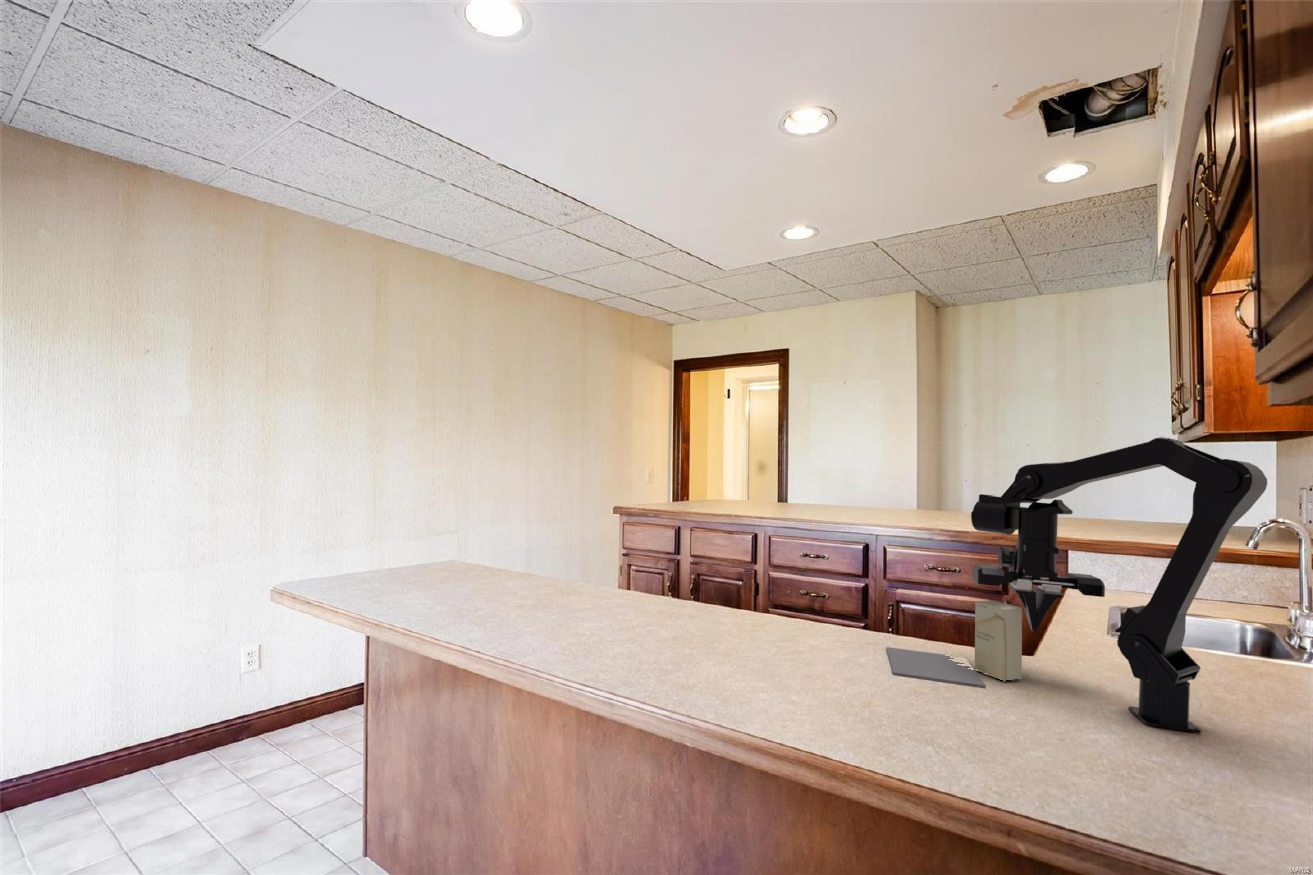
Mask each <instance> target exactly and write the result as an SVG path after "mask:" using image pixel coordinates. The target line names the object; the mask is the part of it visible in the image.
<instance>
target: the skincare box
mask: <svg viewBox="0 0 1313 875" xmlns="http://www.w3.org/2000/svg"><path fill="white" fill-rule="evenodd" d="M974 603H975V605H974V606H975V607H974V608H975V612H974V613H975V614H974V616H975V617H974V623H975V624H974V669H977V670H979V671H981V672H983V673H987V674H989V675H991V676H993V677H995V678H998V679H1001V680H1003V681H1002V682H1007V681H1006V680H1012V681H1016V680H1015V679H1020V680H1023V679H1022V675H1023V674H1022V670H1023V668H1022V665H1023V664H1022V660H1023V656H1022V654H1023V650H1022V649H1023V647H1022V646H1023V607H1021V606H1019V605H1018V606H1017V605H1013V604H1009V603H1006V602H1001V601H997V600H994V599H991V600H976V601H975V602H974ZM983 673H982V674H983ZM995 678H994V679H995ZM1013 679H1014V680H1013Z"/></svg>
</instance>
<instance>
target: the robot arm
mask: <svg viewBox="0 0 1313 875" xmlns="http://www.w3.org/2000/svg"><path fill="white" fill-rule="evenodd" d="M1160 467H1165V468H1167V469H1168V470H1171V471H1172V472H1174V473H1176V474H1177V475H1180V476H1182V477H1183V478H1185V479H1187V480H1190V481H1192V482H1195V484H1194V490H1193V493H1192V512H1191V513H1192V515H1191V518H1190V520H1189V522H1188V523H1187V526H1186V528H1185V530H1184V532H1183V534H1182V536H1181V538H1180V540H1179V542H1178V544H1177V545H1176V548H1175V550H1174V552H1173V553H1172V556H1171V558H1170V560H1169V562H1168V563H1167V566H1166V568H1165V569H1164V571H1163V574H1162V575H1161V578H1160V580H1159V582H1158V584H1157V586H1156V588H1155V590H1154V592H1153V594H1152V596H1151V598H1150V600H1149V601H1148V603H1147V604H1146V605H1144V604H1143V605H1138V606H1133V607H1127V608H1126V610H1125V613H1124V616H1123V620H1122V623H1121V624H1120V626H1119V627H1117V628H1116V629H1114V632H1115V633H1119V634H1118V636H1117V641H1116V643H1117V647H1118V649H1119V651H1120V653H1121V655H1122V656H1123V657H1124V658H1125V660H1127V662H1128V664H1129V666H1130V670H1131V673H1132V675H1133V678H1135V679H1139V683H1138V684H1139V688H1138V707H1137V706H1128V707H1127V708H1128V711H1130V713H1132V714H1133V715H1134V716H1135V717H1136V718H1138V719H1139V720H1140V721H1141V722H1143V723H1145V725H1147V726H1151V727H1157V728H1158V727H1159V728H1164V729H1171V730H1176V731H1178V730H1179V731H1184V732H1191V733H1196V734H1197V733H1198V734H1201V732H1202V729H1201V728H1200V727H1198V726H1197V725H1196V724H1194V723H1193V722H1191V721H1190V696H1191V694H1190V693H1191V683H1190V682H1189V681H1192V680H1193V681H1194V680H1195V679H1196V677H1197V676H1198V674H1199V673H1200V671H1201V666H1200V665H1199V664H1198V663H1197V662H1196V661H1195V660H1194V659H1193V658H1192V656H1191V655H1190V654H1189V653H1188V652H1186V651H1185V650H1184V648H1183V643H1184V639H1185V634H1186V623H1187V622H1186V621H1187V620H1186V618H1187V613H1188V611H1189V609H1190V607H1191V605H1192V603H1193V601H1194V599H1195V598H1196V595H1197V593H1198V592H1199V590H1200V587H1201V586H1202V584H1203V582H1204V580H1205V578H1206V576H1207V574H1208V572H1209V570H1210V569H1211V566H1212V565H1213V562H1214V560H1215V559H1216V557H1217V555H1218V553H1219V551H1220V549H1221V547H1222V546H1223V543H1224V541H1225V540H1226V537H1227V535H1228V533H1229V532H1230V529H1231V528H1232V527H1233V526H1234V525H1235V524H1236V523H1237V522H1238V521H1239V520H1240V519H1241V518H1242V517H1243V516H1245V514H1247V513H1248V512H1249V511H1250V509H1251V508H1252V507H1253V506H1254V505H1255V504H1256V503H1257V501H1258V500H1259V499H1260V498H1261V497H1262V496H1263V494H1264V493H1265V491H1266V489H1267V486H1268V478H1267V477H1266V475H1265V474H1264V472H1263V470H1262V469H1260V468H1259V467H1258V466H1257V465H1255V464H1253V463H1251V462H1249V461H1248V462H1247V461H1241V460H1235V459H1228V458H1220V457H1218V456H1215V455H1212V454H1210V453H1208V452H1204V451H1202V450H1200V449H1197V448H1194V447H1192V446H1190V445H1187V444H1185V443H1183V442H1182V441H1181V440H1179V439H1176V438H1170V437H1164V436H1161V437H1156V438H1153V439H1150V440H1149V441H1147V442H1141V443H1139V444H1134V445H1131V446H1127V447H1123V448H1119V449H1115V450H1110V451H1107V452H1104V453H1099V454H1096V455H1092V456H1091V455H1090V456H1088V457H1087V456H1086V457H1084V458H1080V459H1076V460H1072V461H1062V462H1061V461H1060V462H1045V463H1044V462H1043V463H1033V464H1026V465H1023V466H1021V467H1019V468H1018V470H1017V472H1016V473H1015V477H1014V480H1013V482H1012V483H1011V484H1010V485H1009V487H1008V488H1007V490H1005V491H1004V492H1003V494H1002V495H1001V496H995V495H993V494H979V495H978V501H977V502H976V503H975V504H974V506H973V509H972V511H971V513H970V519H971V525H972V527H973V529H974V530H976V531H978V532H985V533H992V534H999V535H1000V534H1001V535H1008V536H1009V535H1011V536H1012V535H1013V534H1014V533H1015V532H1016V531H1017V541H1016V545H1015V550H1013V548H1011V547H1006V546H1001V547H999V548H998V552H997V553H998V554H997V562H998V564H997V565H991V564H990V565H989V564H981V563H980V564H979V563H976V564H975V565H974V566H973V567H972V570H971V579H972V580H973V581H974V582H975V583H977V584H979V585H984V586H993V587H1000V586H1001V585H1002V584H1004V583H1010V584H1008V588H1009V589H1010V590H1011V591H1012V592H1014V593H1016V594H1017V595H1018V597H1019V600H1020V602H1021V603H1022V606H1023V609H1024V612H1025V616H1026V619H1027V621H1028V622H1027V623H1028V624H1029V627H1030V630H1031V631H1032V632H1037V631H1038V628H1039V627H1040V625H1041V624H1042V623H1043V622H1042V621H1043V620H1044V618H1045V616H1046V614H1047V613H1048V611H1049V610H1050V609H1051V607H1052V606H1053V604H1054V603H1055V601H1056V600H1057V599H1064V594H1063V593H1061V590H1062V589H1072V590H1078V591H1079V593H1080V594H1082V595H1083V596H1090V597H1097V598H1098V597H1100V598H1104V597H1105V596H1106V595H1105V594H1106V590H1105V589H1106V585H1105V583H1104V581H1103V580H1102V579H1101V578H1099V577H1097V576H1094V575H1093V574H1085V573H1077V572H1076V573H1075V572H1074V573H1073V572H1067V574H1066V576H1058V572H1057V570H1056V568H1057V555H1059V547H1057V546H1058V545H1057V543H1058V521H1059V520H1058V518H1059V515H1072V514H1073V513H1074V512H1073V509H1071V508H1069V507H1068V506H1067V505H1066V504H1065V503H1064V501H1063V500H1062V499H1055V498H1058V497H1061V496H1064V495H1066V494H1069V493H1071V492H1073V491H1076V489H1078V488H1080V487H1081V486H1084V485H1088V484H1090V483H1091V484H1092V483H1094V482H1099V481H1102V480H1103V481H1104V480H1108V479H1112V478H1116V477H1121V476H1126V475H1130V474H1134V473H1138V472H1142V471H1147V470H1152V469H1156V468H1160ZM1052 499H1054V500H1052ZM1041 500H1052V501H1051V502H1050V503H1049V502H1039V501H1041ZM1021 504H1029V506H1028V507H1027V506H1021ZM1001 567H1009V571H1005V570H1004V569H1003V568H1001ZM1033 586H1035V587H1033ZM1036 586H1038V587H1036Z"/></svg>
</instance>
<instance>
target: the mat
mask: <svg viewBox="0 0 1313 875" xmlns="http://www.w3.org/2000/svg"><path fill="white" fill-rule="evenodd" d="M885 651H886V654H887V657H888V660H889V664H890V668H891V672H892V675H893V676H899V677H906V678H914V679H920V680H928V681H934V682H940V683H947V684H948V683H949V684H955V685H960V686H968V685H971V686H970V687H975V686H980V687H979V688H982V687H986V686H987V685H986V684H985V682H984V680H982V678H981V677H980V675H979V674H978V671H976V670H971V669H968V668H971V667H969V666H961V665H957V664H964V663H959V662H954V661H952V660H949V659H954V658H950V656H951V655H950V656H945V655H946V654H942V653H935V652H933V653H932V652H926V651H919V650H913V649H911V650H910V649H904V648H897V647H890V646H886V647H885Z"/></svg>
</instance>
